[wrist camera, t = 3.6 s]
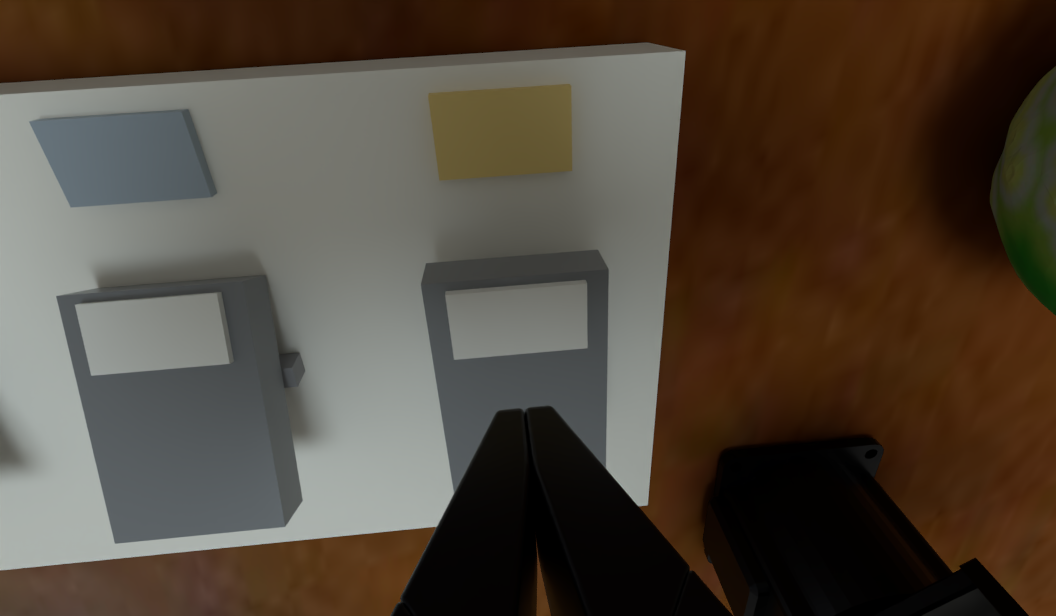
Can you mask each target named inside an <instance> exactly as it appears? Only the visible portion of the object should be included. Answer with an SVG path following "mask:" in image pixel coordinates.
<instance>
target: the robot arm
mask: <svg viewBox="0 0 1056 616" xmlns="http://www.w3.org/2000/svg"><path fill="white" fill-rule="evenodd" d="M883 451H884V449H883V447H882V446H881V445H880V444H879V443H878V442H877V440H876V439H874V438H859V439H849V440H838V441H828V442H818V443H807V444H797V445H787V446H776V447H766V448H756V449H745V450H735V451H730V452H727V453H725V454H724V455H723V456H722V457H721V459H720V461H719V466H718V472H717V478H716V484H715V490H714V496H713V497H712V498H711V500H710V501H709V504H708V510H707V516H706V522H705V528H704V534H703V542H704V545H705V549H704V551H705V555H706V557H707V560H708V561H709V562H710V563H712V564H713V566H714V569H715V571H716V574H717V576H718V578H719V581H720V583H721V586H722V588H723V590H724V593H725V595H726V598H727V600H728V602H729V605H730V607H731V610H732V612H733V614H734V616H1029V615H1028V614H1027V613H1026V612H1025V611H1024V610H1023V609H1022V608H1021V607H1020V605H1019V604H1018V603H1017V602H1016V601H1015V600H1014V599H1013V598H1012V597H1011V596H1010V595H1009V593H1008V592H1007V591H1006V590H1005V589H1004V588H1003V587H1002V586H1001V585H1000V584H999V583H998V582H997V580H996V579H995V578H994V577H993V576H992V575H991V574H990V573H989V572H988V571H987V570H986V569H985V567H984V566H983V565H982V564H981V563H980V562H979V561H978V560H977V559H976V558H974V559H972V560H970V561H968V562H966V563H964V564H962V565H960V566H959V567H960V568H961V569H960V570H958V571H956V572H954V573H953V572H952V571H951V570H950V569H949V567H948V566H947V565H946V564H945V563H944V561H943V560H942V559H941V558H940V557H939V555H938V554H937V553H936V552H935V551H934V549H933V548H932V547H931V546H930V545H929V543H928V542H927V541H926V540H925V539H924V537H923V536H922V535H921V534H920V533H919V531H918V530H917V529H916V528H915V527H914V525H913V524H912V523H911V522H910V521H909V519H908V518H907V517H906V516H905V515H904V513H903V512H902V511H901V510H900V509H899V507H898V506H897V505H896V504H895V503H894V501H893V500H892V499H891V498H890V497H889V495H888V494H887V493H886V492H885V491H884V490H883V488H882V487H881V486H880V485H879V484H878V482H877V481H876V480H875V479H874V477H875V474H876V471H877V468H878V466H879V463H880V460H881V458H882V455H883ZM733 463H734V464H733ZM535 532H536V533H535ZM536 542H537V548H536ZM537 549H538V557H539V562H540V567H541V572H542V577H543V581H544V586H545V590H546V595H547V599H548V604H549V608H550V613H551V616H733V615H732V614H731V613H730V612H729V611H728V610H727V608H726V607H725V606H724V605H723V604H722V603H721V602H720V601H719V600H718V598H717V597H716V596H715V595H714V594H713V593H712V592H711V590H710V589H709V588H708V587H707V586H706V585H705V583H704V582H703V581H702V580H701V579H700V577H699V576H698V575H697V574H696V573H695V572H694V571H689V569H690V568H689V565H688V564H687V563H686V562H685V560H684V559H683V558H682V557H681V556H680V555H679V553H678V552H677V551H676V550H675V549H674V547H673V546H672V545H671V544H670V543H669V542H668V540H667V539H666V538H665V537H664V536H663V535H662V533H661V532H660V531H659V530H658V529H657V528H656V526H655V525H654V524H653V523H652V522H651V521H650V519H649V518H648V517H647V516H646V515H645V514H644V512H643V511H642V510H641V509H640V508H639V507H638V505H637V504H636V503H635V502H634V501H633V500H632V498H631V497H630V496H629V495H628V494H627V493H626V491H625V490H624V489H623V488H622V487H621V486H620V484H619V483H618V482H617V481H616V480H615V479H614V477H613V476H612V475H611V474H610V473H609V472H608V470H607V469H606V468H605V467H604V466H603V465H602V463H601V462H600V461H599V460H598V459H597V458H596V456H595V455H594V454H593V453H592V452H591V451H590V449H589V448H588V447H587V446H586V445H585V444H584V442H583V441H582V440H581V439H580V438H579V437H578V435H577V434H576V433H575V432H574V431H573V430H572V428H571V427H570V426H569V425H568V424H567V423H566V421H565V420H564V419H563V418H562V417H561V416H560V414H559V413H558V412H557V411H556V410H555V409H554V408H553V407H552V406H550V405H545V406H535V407H528V408H526V410H525V413H524V410H523V409H521V408H513V409H503V410H498V411H497V412H496V413H495V415H494V417H493V419H492V421H491V423H490V425H489V426H488V428H487V430H486V432H485V434H484V436H483V438H482V440H481V442H480V444H479V446H478V448H477V450H476V452H475V454H474V456H473V458H472V459H471V461H470V463H469V465H468V467H467V469H466V471H465V473H464V475H463V477H462V479H461V481H460V483H459V485H458V487H457V489H456V490H455V492H454V494H453V496H452V498H451V500H450V502H449V504H448V506H447V508H446V510H445V512H444V514H443V516H442V518H441V520H440V522H439V523H438V525H437V527H436V529H435V531H434V533H433V535H432V537H431V539H430V541H429V543H428V545H427V547H426V549H425V551H424V553H423V554H422V556H421V558H420V560H419V562H418V564H417V566H416V568H415V570H414V572H413V574H412V576H411V578H410V580H409V582H408V584H407V586H406V587H405V589H404V591H403V593H402V595H401V598H400V599H401V602H399V603H397V604H396V606H395V608H394V610H393V612H392V614H391V616H536V610H537Z"/></svg>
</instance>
